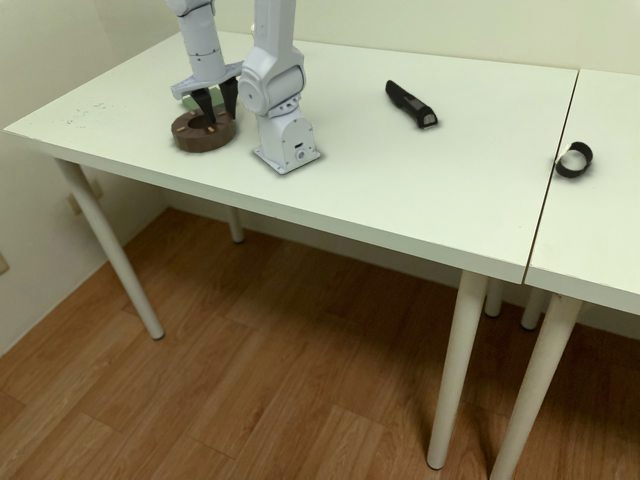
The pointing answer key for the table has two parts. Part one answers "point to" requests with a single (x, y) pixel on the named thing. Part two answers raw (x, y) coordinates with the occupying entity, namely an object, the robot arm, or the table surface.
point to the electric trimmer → (411, 105)
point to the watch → (580, 148)
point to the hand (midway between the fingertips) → (222, 121)
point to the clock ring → (203, 130)
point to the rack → (215, 96)
